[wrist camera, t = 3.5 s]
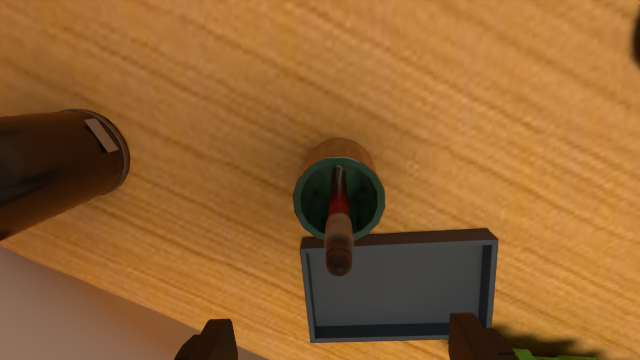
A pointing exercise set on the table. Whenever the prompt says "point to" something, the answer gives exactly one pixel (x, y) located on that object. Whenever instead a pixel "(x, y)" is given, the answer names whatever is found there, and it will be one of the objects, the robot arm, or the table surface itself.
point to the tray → (400, 286)
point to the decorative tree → (526, 356)
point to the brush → (338, 227)
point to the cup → (361, 188)
